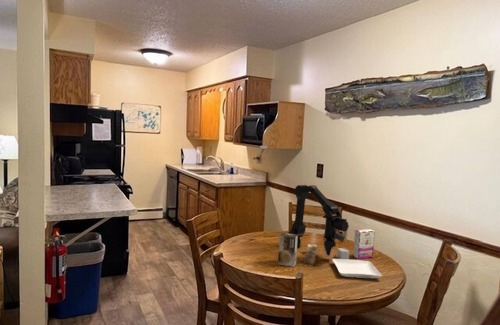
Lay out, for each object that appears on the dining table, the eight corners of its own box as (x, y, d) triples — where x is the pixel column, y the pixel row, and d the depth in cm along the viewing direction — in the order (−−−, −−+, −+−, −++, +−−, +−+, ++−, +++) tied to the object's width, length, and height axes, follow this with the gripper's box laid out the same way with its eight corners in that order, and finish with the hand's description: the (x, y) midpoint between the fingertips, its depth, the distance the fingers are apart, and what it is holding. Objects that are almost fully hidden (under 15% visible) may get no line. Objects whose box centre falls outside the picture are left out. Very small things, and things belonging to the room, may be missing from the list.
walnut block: (303, 262, 193) (304, 253, 192) (306, 260, 197) (307, 251, 197) (312, 264, 191) (313, 255, 190) (315, 261, 195) (315, 253, 195)
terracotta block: (323, 256, 197) (324, 248, 196) (323, 253, 202) (324, 245, 201) (332, 257, 196) (333, 249, 195) (332, 254, 201) (333, 246, 200)
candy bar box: (367, 255, 212) (369, 228, 211) (373, 257, 208) (375, 230, 206) (352, 256, 208) (354, 229, 207) (357, 259, 203) (360, 231, 202)
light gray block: (341, 259, 201) (341, 251, 201) (336, 256, 206) (337, 248, 206) (348, 259, 202) (349, 251, 202) (344, 256, 207) (345, 248, 207)
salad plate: (331, 263, 195) (331, 257, 194) (369, 266, 194) (369, 260, 194) (339, 279, 173) (339, 272, 173) (382, 282, 173) (382, 275, 172)
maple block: (308, 255, 206) (308, 246, 206) (307, 252, 211) (307, 244, 211) (316, 255, 206) (317, 247, 206) (315, 252, 211) (315, 244, 211)
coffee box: (296, 263, 191) (298, 234, 190) (293, 267, 185) (296, 237, 184) (280, 260, 194) (282, 232, 193) (277, 264, 188) (279, 235, 187)
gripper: (346, 233, 187) (343, 261, 188) (343, 224, 205) (341, 250, 206) (325, 230, 189) (322, 258, 190) (324, 222, 207) (322, 248, 208)
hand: (328, 253), depth 199 cm, fingers closed on terracotta block, 5 cm apart
